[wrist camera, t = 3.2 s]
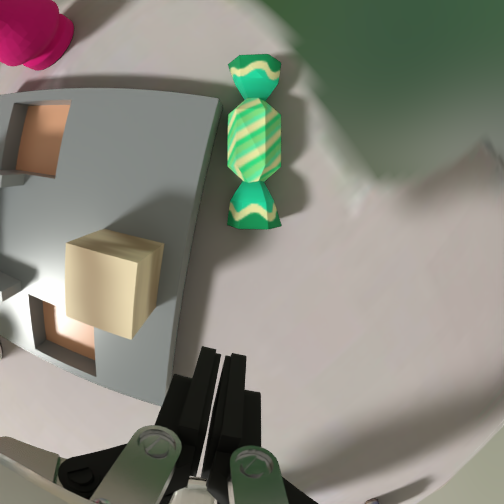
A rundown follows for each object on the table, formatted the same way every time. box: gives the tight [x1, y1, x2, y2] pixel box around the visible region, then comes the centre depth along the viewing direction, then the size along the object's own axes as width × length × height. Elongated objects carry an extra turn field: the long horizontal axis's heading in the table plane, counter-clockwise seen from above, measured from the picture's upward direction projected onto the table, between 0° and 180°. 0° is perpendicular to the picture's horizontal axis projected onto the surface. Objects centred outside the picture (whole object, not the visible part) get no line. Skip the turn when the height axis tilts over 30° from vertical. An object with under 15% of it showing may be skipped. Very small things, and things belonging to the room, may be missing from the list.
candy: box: [227, 54, 282, 229], centre depth 19 cm, size 12×3×4 cm
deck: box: [0, 88, 223, 407], centre depth 19 cm, size 24×26×8 cm
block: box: [65, 229, 165, 340], centre depth 18 cm, size 5×5×5 cm
